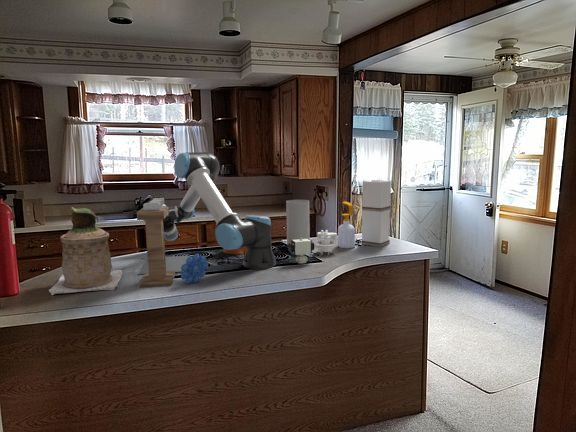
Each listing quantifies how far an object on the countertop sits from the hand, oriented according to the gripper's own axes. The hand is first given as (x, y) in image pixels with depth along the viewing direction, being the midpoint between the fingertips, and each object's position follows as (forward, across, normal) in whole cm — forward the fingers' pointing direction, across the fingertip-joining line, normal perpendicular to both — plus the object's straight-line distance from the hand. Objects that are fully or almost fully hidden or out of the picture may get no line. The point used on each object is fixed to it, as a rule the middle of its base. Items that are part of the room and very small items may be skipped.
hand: (160, 209), depth 190 cm
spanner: (+13, 0, -4) cm, 14 cm away
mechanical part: (-22, -79, -19) cm, 84 cm away
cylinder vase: (-39, -68, -9) cm, 79 cm away
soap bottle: (-32, -94, -13) cm, 100 cm away
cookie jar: (+2, +27, -33) cm, 43 cm away
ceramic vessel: (-36, -36, -11) cm, 52 cm away
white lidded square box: (-35, -111, -12) cm, 117 cm away
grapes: (+8, -15, -37) cm, 41 cm away
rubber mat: (-17, 0, -22) cm, 27 cm away
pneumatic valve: (-9, -64, -26) cm, 69 cm away
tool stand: (+4, 0, -34) cm, 34 cm away
